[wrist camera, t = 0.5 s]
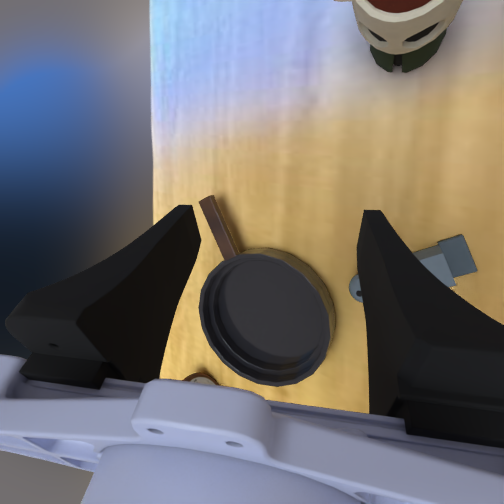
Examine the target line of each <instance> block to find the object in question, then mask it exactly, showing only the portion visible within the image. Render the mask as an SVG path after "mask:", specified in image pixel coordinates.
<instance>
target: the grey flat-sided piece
mask: <svg viewBox="0 0 504 504" xmlns="http://www.w3.org/2000/svg"><path fill="white" fill-rule="evenodd" d="M413 254H414V255H415V256H416V257H417V259H418V260H419V261H420V262H421V263H422V264H423V265H424V266H425V267H426V268H427V269H428V270H429V271H430V272H431V273H432V274H433V275H435V276H436V277H437V278H438V279H439V280H440V281H441V282H442V283H444V284H445V285H446V286H447V287H451V286H455V285H456V283H455V281H454V277H458V276H462V275H465V274H469V273H473V272H476V271H477V268H476V266H475V263H474V261H473V258H472V256H471V253H470V251H469V248H468V246H467V244H466V241H465V239H464V236H463V235H462V234H461V235H457V236H454V237H451V238H448V239H445V240H442V241H439V242H438V245H436V246H433V247H430V248H426V249H423V250H420V251H417V252H414V253H413ZM349 291H350V294H351V295H352V297H353V298H354V299H355V300H357V301H359V302H362V303H363V300H362V294H361V288H360V282H359V276H358V274H357V275H355V276H354V277H353V278H352V279H351V281H350V284H349Z"/></svg>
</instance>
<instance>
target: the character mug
mask: <svg viewBox="0 0 504 504" xmlns="http://www.w3.org/2000/svg"><path fill="white" fill-rule="evenodd" d="M334 1H340V2H343V1H352V4H353V9H354V13H355V17H356V21H357V24H358V28H359V31H360V33H361V34H362V35H363V37H364V38H365V40H366V41H368V42H369V43H370V51H371V53H372V55H373V57H374V59H375V61H376V63H377V65H379V66H380V67H382V68H383V69H385V70H386V71H388V72H392V69H393V64H394V65H397V66H399V65H402V72H405V73H406V72H409V71H411V70H413V69H416V68H418V67H420V66H422V65H423V64H424V63H426V62H427V61H428V60H429V59H430V58H431V57H432V56H433V55H434V54H435V53H436V52H437V50H438V48H439V46H440V44H441V42H442V40H443V38H444V36H445V34H446V28H447V27H448V26H449V25H450V23H451V22H452V21H453V19H454V17H455V15H456V13H457V11H458V9H459V7H460V5H461V3H462V1H463V0H334Z"/></svg>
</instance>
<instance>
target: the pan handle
mask: <svg viewBox="0 0 504 504" xmlns="http://www.w3.org/2000/svg"><path fill="white" fill-rule="evenodd" d="M199 204H200V206H201V208H202V211H203V213H204V215H205V217H206V220H207V222H208V224H209V226H210V229H211V231H212V233H213V235H214V238H215V240H216V242H217V244H218V247H219V249H220V251H221V253H222V256H223V258H224V260H225V261H226V260H229V259H231V258H233V257H235V256H236V255H238V254H239V252H238V249H237V247H236V245H235V243H234V240H233V238H232V236H231V233H230V231H229V229H228V227H227V224H226V222H225V220H224V218H223V215H222V213H221V211H220V209H219V206H218V204H217V202H216V200H215V197H214V195H211V196H208V197H206V198H204V199H203V200H201V201H199Z"/></svg>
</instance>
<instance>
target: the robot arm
mask: <svg viewBox="0 0 504 504" xmlns="http://www.w3.org/2000/svg"><path fill="white" fill-rule="evenodd" d="M200 244H201V237H200V233H199V229H198V226H197V222H196V218H195V214H194V211H193V207H192V205H178V206H177V207H175V208H174V209H173V210H172V211H170V212H169V213H168V214H167V215H166V216H164V217H163V218H162V219H161V220H160V221H158V222H157V223H156V224H155V225H153V226H152V227H151V228H150V229H149V230H147V231H146V232H145V233H144V234H142V235H141V236H139V238H137V239H135V240H134V241H133V242H132V243H130V244H129V245H127V246H126V247H124V248H123V249H121V250H120V251H118V252H117V253H115V254H113V255H112V256H110V257H109V258H107V259H105V260H103V261H102V262H100V263H98V264H96V265H94V266H92V267H90V268H88V269H86V270H84V271H82V272H80V273H78V274H76V275H74V276H71V277H69V278H67V279H64V280H62V281H59V282H57V283H55V284H52V285H49V286H46V287H44V288H41V289H38V290H36V291H32V292H30V293H27V295H26V296H25V297H24V298H23V300H22V301H21V302H20V303H19V304H18V306H17V307H16V308H15V309H14V310H13V311H12V313H11V314H10V315H9V316H8V317H7V319H6V320H5V325H6V328H7V329H8V331H9V332H10V333H11V334H12V335H13V336H14V337H15V338H16V339H17V340H18V341H19V342H20V343H22V344H23V345H24V346H25V347H26V348H27V349H29V350H30V351H31V352H32V354H31V355H30V357H29V358H28V360H26V359H23V358H20V357H17V356H9V355H2V354H0V450H2V451H7V452H12V453H17V454H21V455H25V456H30V457H34V458H38V459H42V460H46V461H51V462H55V463H59V464H63V465H67V466H71V467H75V468H79V469H83V470H87V471H91V472H94V475H93V477H92V479H91V481H90V484H89V486H88V488H87V490H86V493H85V495H84V497H83V500H82V502H81V504H504V325H502V324H501V323H499V322H497V321H496V320H494V319H492V318H491V317H489V316H487V315H486V314H484V313H483V312H481V311H480V310H478V309H477V308H475V307H474V306H472V305H471V304H470V303H468V302H467V301H465V300H464V299H463V298H461V297H460V296H459V295H457V294H456V293H455V292H454V291H452V290H451V289H450V288H448V287H447V286H446V285H445V284H444V283H442V282H441V281H440V280H439V279H438V278H437V277H436V276H435V275H433V274H432V273H431V272H430V271H429V270H428V269H427V268H426V267H425V266H424V265H423V264H422V263H421V262H420V261H419V260H418V259H417V257H416V256H415V255H414V254H413V253H412V252H411V251H410V249H409V248H408V247H407V246H406V245H405V243H404V242H403V241H402V240H401V238H400V237H399V236H398V234H397V233H396V232H395V230H394V229H393V227H392V226H391V225H390V223H389V222H388V220H387V219H386V217H385V216H384V214H383V213H382V212H381V211H380V210H364V213H363V218H362V223H361V228H360V233H359V238H358V243H357V269H358V276H359V282H360V288H361V294H362V300H363V305H364V311H365V318H366V329H367V347H368V371H369V414H366V413H358V412H351V411H344V410H336V409H329V408H322V407H315V406H307V405H300V404H293V403H285V402H278V401H271V400H265V399H264V397H262V396H260V395H258V394H256V393H254V392H252V391H247V390H243V389H239V388H234V387H226V386H219V385H211V384H203V383H196V382H188V381H181V380H173V379H159V375H160V370H161V365H162V361H163V357H164V352H165V348H166V344H167V340H168V336H169V333H170V329H171V325H172V322H173V318H174V315H175V311H176V308H177V305H178V303H179V300H180V297H181V295H182V293H183V290H184V288H185V286H186V283H187V281H188V279H189V276H190V274H191V271H192V269H193V267H194V264H195V262H196V259H197V255H198V252H199V248H200Z"/></svg>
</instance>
